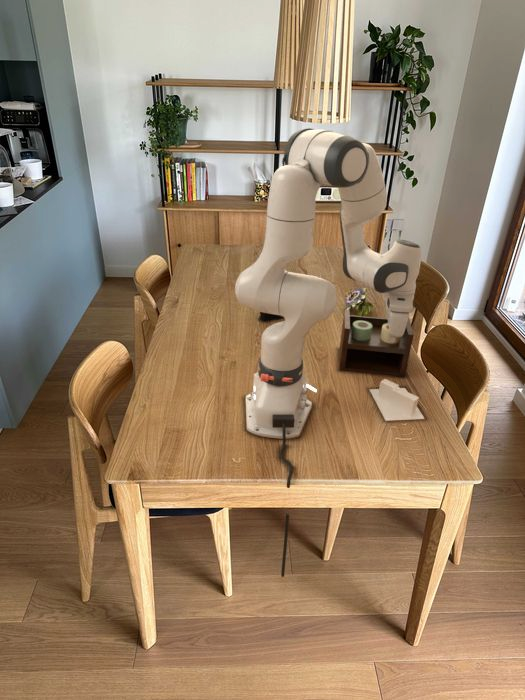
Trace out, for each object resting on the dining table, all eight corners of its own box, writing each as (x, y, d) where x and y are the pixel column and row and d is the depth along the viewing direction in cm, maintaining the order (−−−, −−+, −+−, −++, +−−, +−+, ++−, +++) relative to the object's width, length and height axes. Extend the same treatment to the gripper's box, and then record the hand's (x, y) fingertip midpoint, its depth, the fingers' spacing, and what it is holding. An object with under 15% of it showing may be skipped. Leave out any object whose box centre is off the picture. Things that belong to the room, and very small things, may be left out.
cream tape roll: (400, 344, 152) (403, 332, 150) (381, 342, 152) (383, 330, 150) (399, 335, 157) (401, 323, 155) (379, 333, 158) (381, 322, 156)
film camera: (285, 306, 196) (287, 284, 192) (297, 316, 189) (299, 294, 184) (250, 312, 190) (251, 290, 186) (261, 323, 183) (262, 300, 178)
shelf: (404, 377, 155) (413, 334, 147) (339, 370, 157) (344, 328, 149) (400, 355, 166) (408, 314, 159) (339, 349, 168) (344, 309, 161)
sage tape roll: (371, 341, 153) (373, 330, 151) (351, 339, 153) (353, 328, 151) (370, 332, 158) (372, 321, 156) (351, 330, 159) (352, 319, 156)
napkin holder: (425, 418, 137) (429, 401, 134) (385, 421, 135) (389, 404, 132) (404, 387, 150) (408, 371, 147) (368, 389, 148) (371, 373, 145)
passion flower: (346, 322, 197) (340, 293, 198) (373, 317, 197) (367, 288, 198) (351, 319, 186) (345, 288, 187) (380, 313, 186) (373, 282, 187)
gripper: (385, 280, 156) (378, 319, 163) (390, 308, 139) (382, 350, 146) (405, 282, 156) (398, 321, 163) (413, 310, 138) (404, 353, 145)
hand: (390, 335), depth 154 cm, fingers closed on cream tape roll, 6 cm apart
